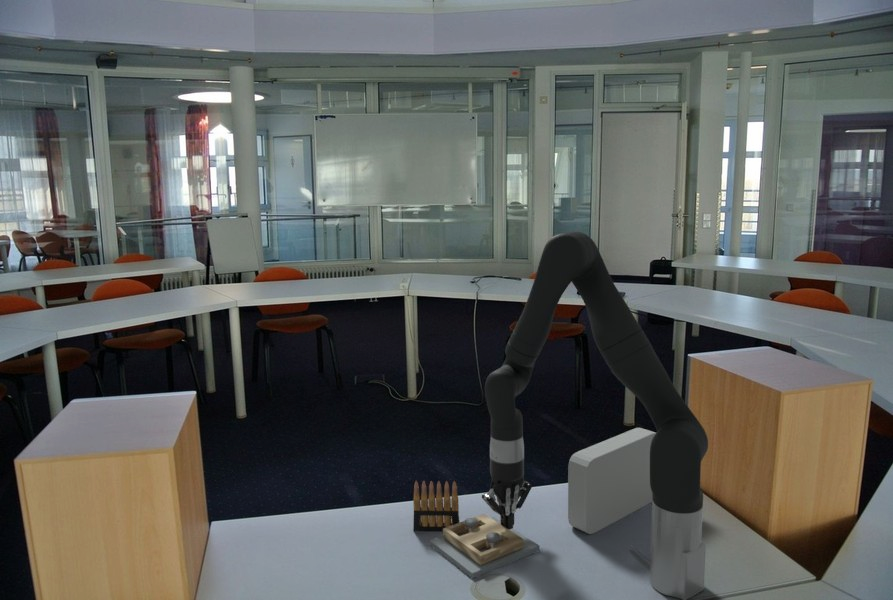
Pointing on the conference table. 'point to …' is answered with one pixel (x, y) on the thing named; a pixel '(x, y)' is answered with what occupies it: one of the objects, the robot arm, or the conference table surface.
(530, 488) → the robot arm
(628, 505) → the rounded white slab
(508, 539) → the beech panel
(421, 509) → the ammunition clip
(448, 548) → the board
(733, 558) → the conference table surface
